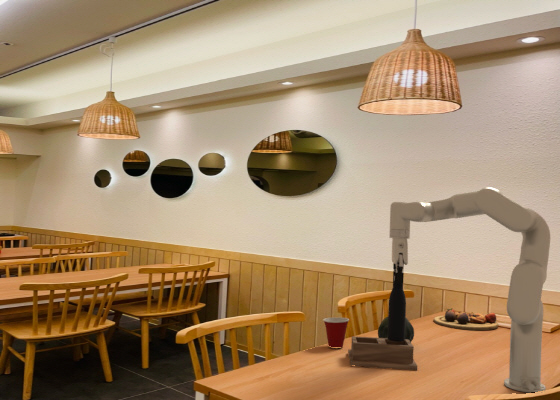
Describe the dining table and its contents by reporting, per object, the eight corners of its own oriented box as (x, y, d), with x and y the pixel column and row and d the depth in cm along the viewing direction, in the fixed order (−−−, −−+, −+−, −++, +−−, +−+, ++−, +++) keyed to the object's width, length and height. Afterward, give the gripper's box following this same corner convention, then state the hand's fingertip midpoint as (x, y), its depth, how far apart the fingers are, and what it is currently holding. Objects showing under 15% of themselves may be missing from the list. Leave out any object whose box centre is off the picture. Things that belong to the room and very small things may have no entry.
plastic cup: (331, 342, 227) (332, 314, 227) (353, 347, 220) (354, 318, 220) (316, 347, 218) (317, 318, 219) (338, 352, 212) (339, 322, 212)
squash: (381, 326, 238) (380, 305, 229) (416, 331, 233) (415, 309, 224) (376, 353, 228) (374, 331, 219) (412, 359, 223) (411, 337, 214)
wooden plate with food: (503, 324, 283) (503, 308, 283) (491, 334, 256) (491, 316, 256) (442, 317, 300) (443, 302, 300) (426, 325, 273) (426, 309, 273)
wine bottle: (405, 342, 197) (407, 261, 198) (387, 340, 198) (390, 260, 199) (404, 338, 203) (407, 260, 204) (387, 337, 204) (390, 259, 205)
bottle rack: (417, 370, 191) (418, 349, 191) (350, 366, 193) (351, 345, 193) (409, 356, 209) (409, 337, 209) (348, 353, 211) (348, 334, 211)
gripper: (413, 235, 193) (411, 286, 193) (406, 233, 210) (404, 280, 209) (392, 234, 194) (390, 285, 193) (386, 233, 210) (385, 279, 210)
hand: (398, 282), depth 201 cm, fingers closed on wine bottle, 3 cm apart
